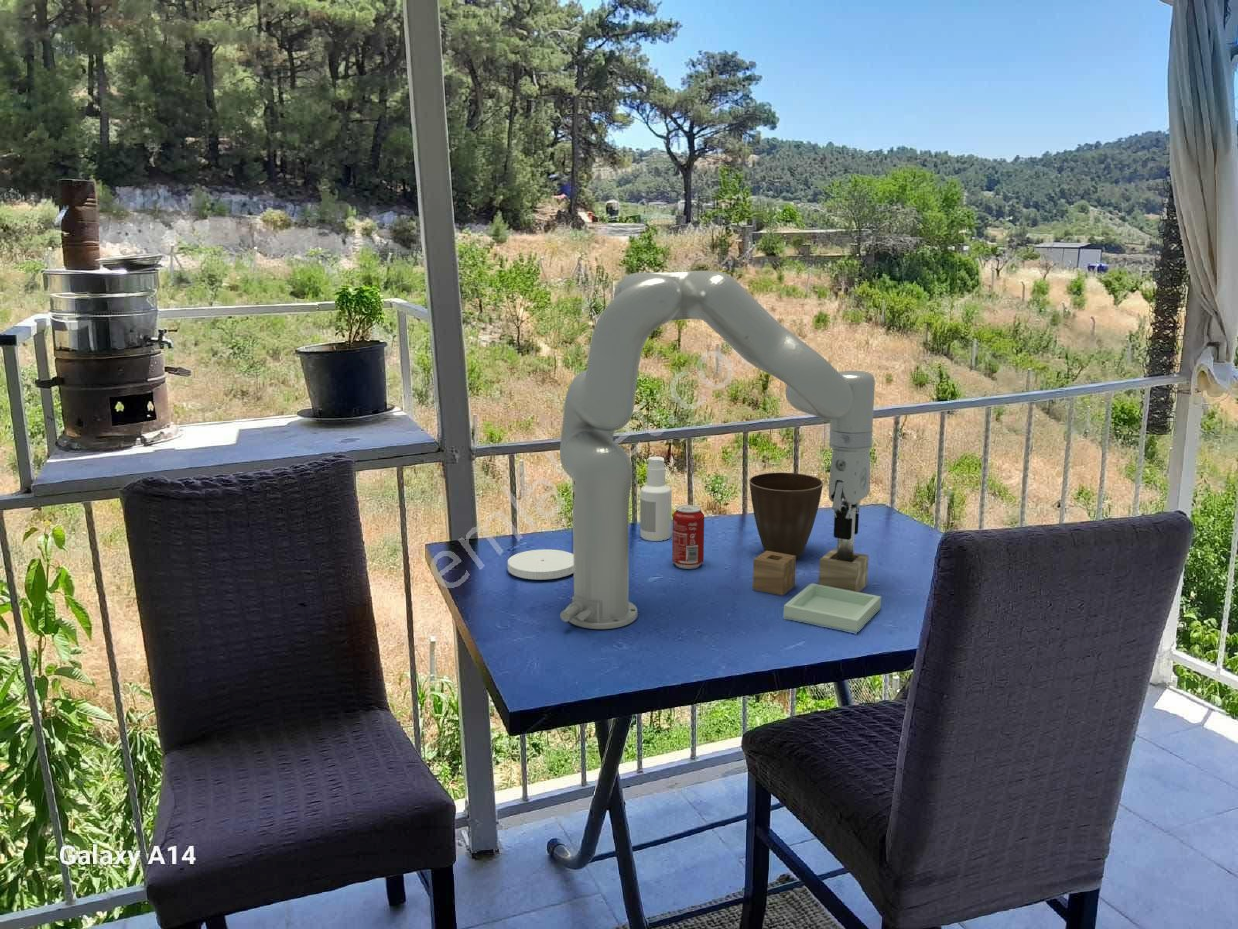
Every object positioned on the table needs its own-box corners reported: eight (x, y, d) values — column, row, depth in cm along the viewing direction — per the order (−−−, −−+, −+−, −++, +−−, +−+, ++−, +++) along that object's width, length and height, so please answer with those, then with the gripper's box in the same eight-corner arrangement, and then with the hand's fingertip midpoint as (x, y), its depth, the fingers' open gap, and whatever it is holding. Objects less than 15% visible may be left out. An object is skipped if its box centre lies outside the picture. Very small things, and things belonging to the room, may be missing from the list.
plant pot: (820, 569, 190) (824, 491, 186) (745, 564, 192) (747, 488, 188) (818, 546, 204) (822, 473, 200) (748, 542, 206) (750, 471, 203)
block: (782, 595, 175) (783, 564, 174) (752, 589, 178) (753, 559, 177) (794, 585, 180) (796, 555, 179) (765, 580, 183) (766, 550, 182)
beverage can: (703, 560, 195) (704, 504, 192) (703, 570, 189) (704, 512, 186) (672, 559, 195) (673, 503, 193) (671, 569, 189) (672, 512, 187)
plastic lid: (530, 589, 180) (530, 577, 179) (495, 569, 191) (494, 558, 190) (591, 574, 188) (591, 562, 187) (554, 556, 199) (554, 545, 198)
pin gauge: (850, 562, 176) (852, 510, 174) (834, 559, 178) (836, 508, 175) (855, 557, 178) (858, 506, 176) (839, 555, 180) (842, 504, 178)
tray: (856, 634, 157) (857, 620, 157) (783, 619, 164) (783, 605, 164) (880, 609, 168) (881, 596, 168) (810, 596, 175) (811, 583, 174)
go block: (854, 596, 175) (856, 565, 173) (818, 589, 178) (819, 559, 177) (866, 585, 180) (868, 555, 179) (831, 578, 184) (832, 549, 183)
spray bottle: (646, 531, 215) (646, 453, 211) (675, 534, 212) (675, 456, 208) (635, 539, 209) (636, 460, 205) (665, 543, 206) (666, 462, 202)
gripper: (856, 449, 164) (850, 550, 168) (884, 433, 178) (879, 527, 182) (814, 445, 168) (810, 544, 172) (845, 429, 181) (841, 522, 186)
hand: (845, 534), depth 177 cm, fingers closed on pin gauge, 3 cm apart
